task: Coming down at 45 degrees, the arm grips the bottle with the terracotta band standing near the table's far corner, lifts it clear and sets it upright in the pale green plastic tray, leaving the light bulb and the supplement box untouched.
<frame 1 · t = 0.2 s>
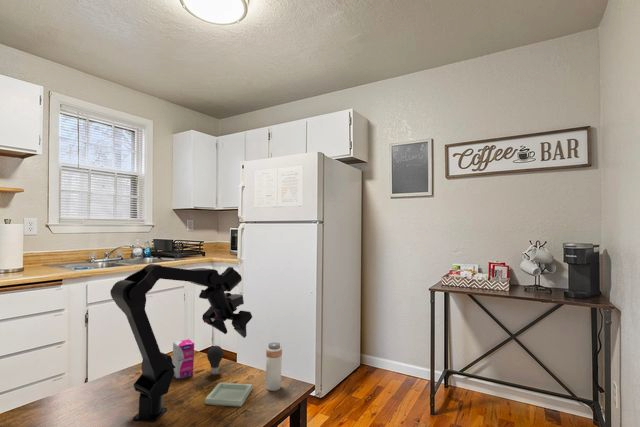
hand: (235, 334, 122), 15 cm above the table, tool tilted 30°, fingers open, 9 cm apart
supplement box: (182, 375, 123), on the table
light bulb: (214, 374, 123), on the table
tray: (229, 396, 108), on the table
bottle: (273, 387, 114), on the table
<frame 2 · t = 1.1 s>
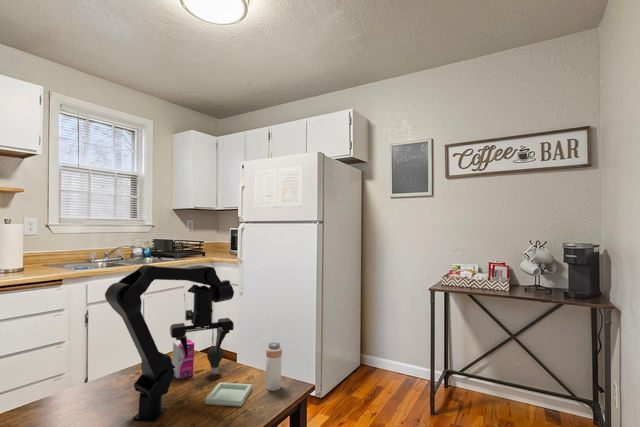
hand: (201, 354, 110), 12 cm above the table, tool pointing down, fingers open, 9 cm apart
nothing on the table moved.
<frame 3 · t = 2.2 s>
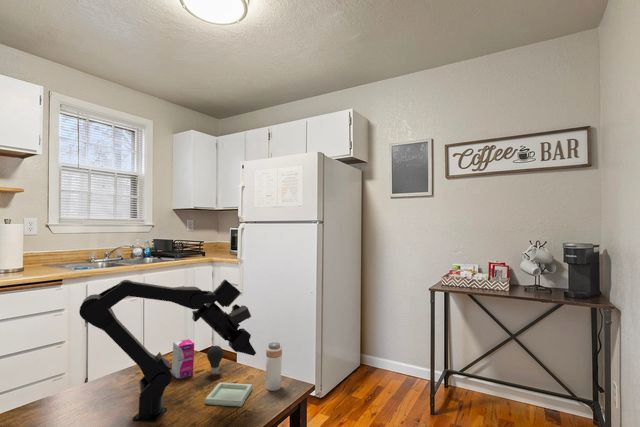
hand: (250, 349, 111), 13 cm above the table, tool tilted 45°, fingers open, 9 cm apart
nothing on the table moved.
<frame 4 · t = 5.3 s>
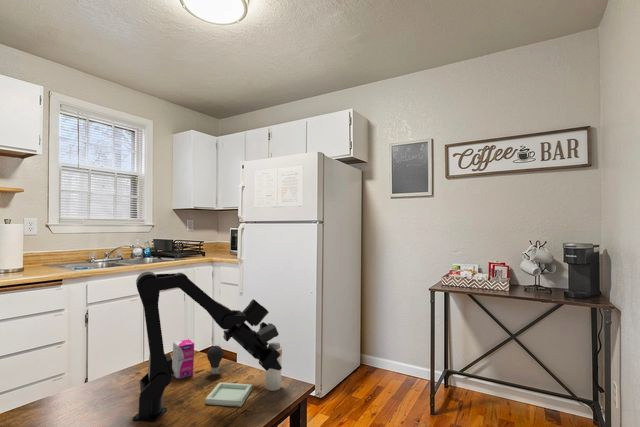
hand: (277, 366, 115), 7 cm above the table, tool tilted 45°, fingers closed on bottle, 5 cm apart
bottle: (273, 387, 114), on the table, touching gripper
everything else where it was.
when the fingers open (8 cm above the table, at t = 9.0 s): bottle drops 1 cm, resting on tray.
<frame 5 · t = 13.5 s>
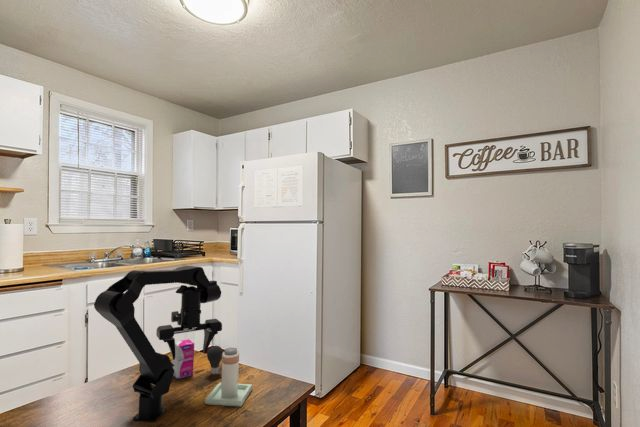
hand: (189, 356, 108), 12 cm above the table, tool pointing down, fingers open, 9 cm apart
bottle: (229, 395, 108), resting on tray
everything else where it was.
at the end: bottle inside the target area on the tray (0.1 cm from its centre), point 0.4 cm above the tray's base; bottle tilted 1°; the gripper is holding nothing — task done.
